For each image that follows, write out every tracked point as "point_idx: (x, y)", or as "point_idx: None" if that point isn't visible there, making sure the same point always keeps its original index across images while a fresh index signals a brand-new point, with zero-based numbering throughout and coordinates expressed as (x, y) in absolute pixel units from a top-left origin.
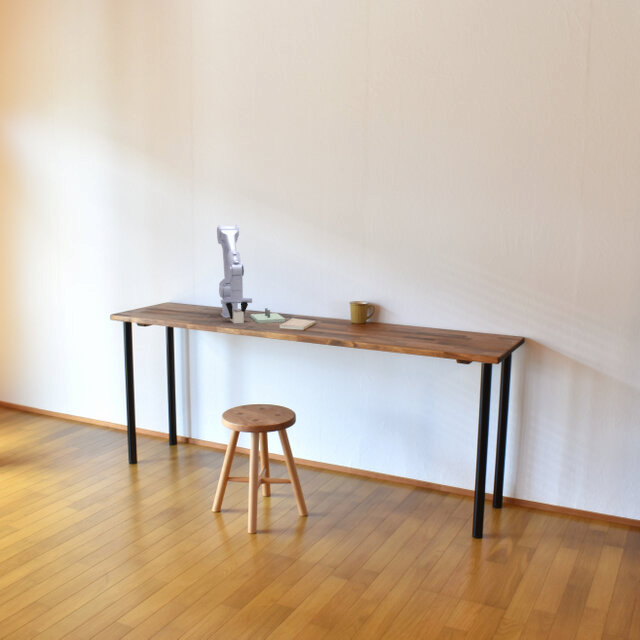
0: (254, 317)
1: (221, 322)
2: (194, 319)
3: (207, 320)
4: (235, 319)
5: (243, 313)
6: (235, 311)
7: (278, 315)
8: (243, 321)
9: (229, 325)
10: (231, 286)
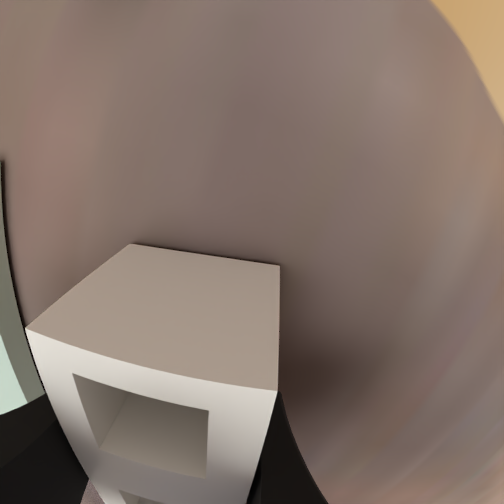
0: (3, 341)
1: (374, 401)
2: (443, 493)
3: (410, 475)
4: (247, 291)
5: (41, 314)
6: (184, 477)
7: None
8: (122, 252)
9: (388, 174)
10: None
